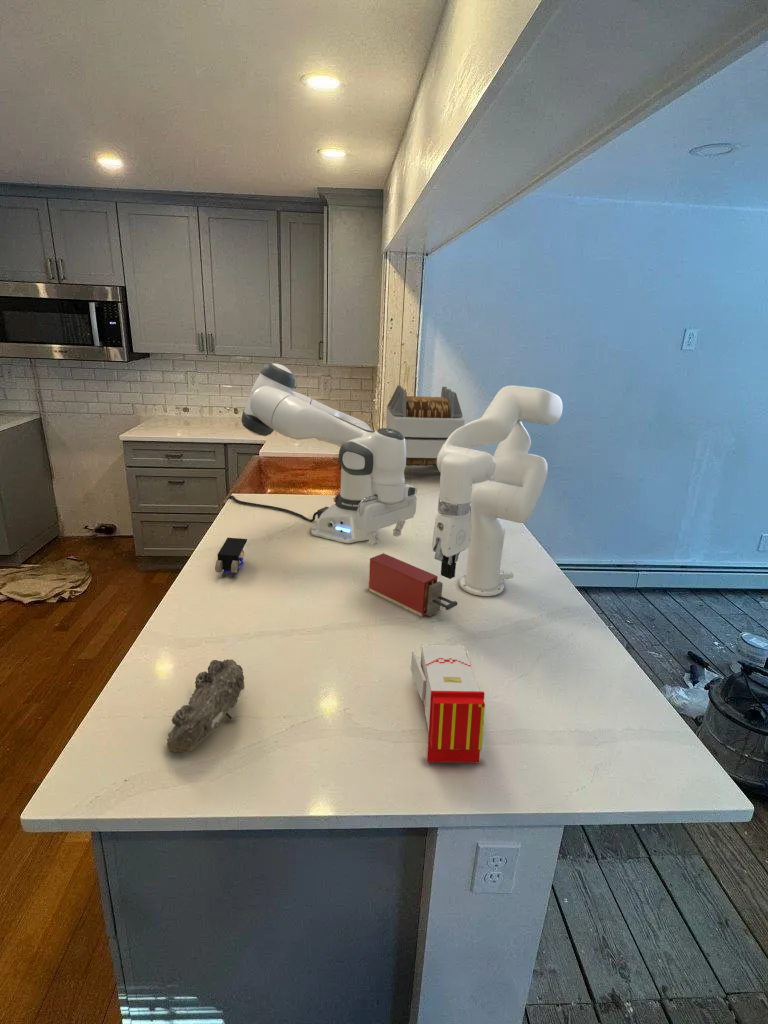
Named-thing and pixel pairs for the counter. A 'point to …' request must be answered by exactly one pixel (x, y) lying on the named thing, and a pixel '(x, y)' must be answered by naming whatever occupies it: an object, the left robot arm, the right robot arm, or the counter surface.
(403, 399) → the transformer
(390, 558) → the cabinet
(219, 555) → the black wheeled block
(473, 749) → the toy
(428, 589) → the drawer
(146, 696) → the counter surface
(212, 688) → the fossil
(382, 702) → the counter surface
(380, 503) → the left robot arm
